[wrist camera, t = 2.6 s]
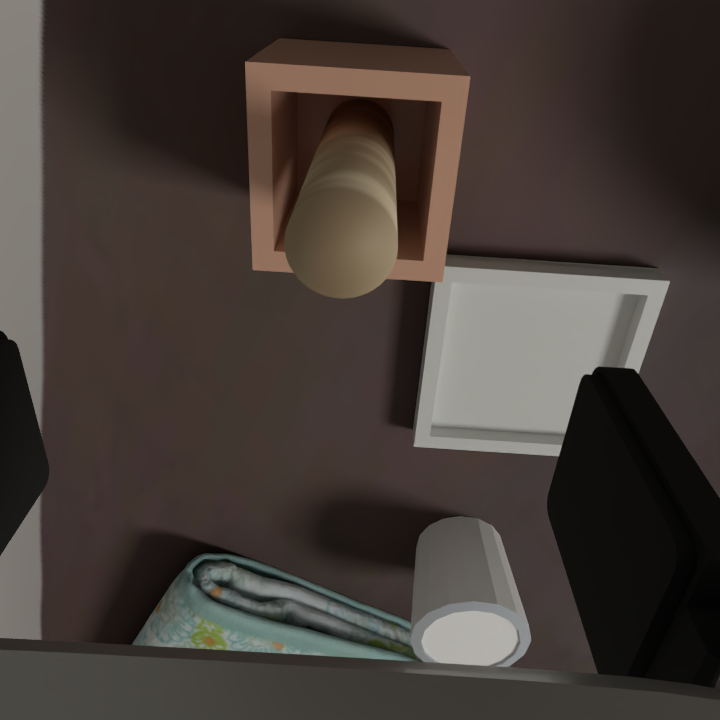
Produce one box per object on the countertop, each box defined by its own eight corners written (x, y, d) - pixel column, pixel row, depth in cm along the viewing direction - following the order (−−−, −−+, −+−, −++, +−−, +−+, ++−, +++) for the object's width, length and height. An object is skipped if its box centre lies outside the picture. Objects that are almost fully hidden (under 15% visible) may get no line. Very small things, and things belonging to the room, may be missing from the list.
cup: (449, 49, 26) (470, 76, 20) (430, 214, 30) (442, 282, 24) (279, 38, 26) (245, 61, 20) (281, 204, 30) (252, 270, 24)
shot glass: (524, 565, 43) (546, 662, 37) (429, 590, 44) (435, 687, 39) (491, 496, 40) (510, 590, 34) (390, 526, 41) (391, 620, 35)
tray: (658, 268, 31) (670, 281, 30) (601, 442, 37) (608, 459, 36) (435, 253, 31) (437, 266, 30) (412, 429, 37) (413, 446, 36)
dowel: (396, 101, 27) (403, 194, 16) (390, 171, 29) (393, 301, 17) (326, 96, 27) (283, 187, 16) (324, 167, 29) (284, 294, 17)
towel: (343, 740, 56) (339, 805, 52) (113, 662, 51) (88, 727, 47) (460, 633, 47) (468, 700, 43) (197, 526, 42) (176, 590, 38)
